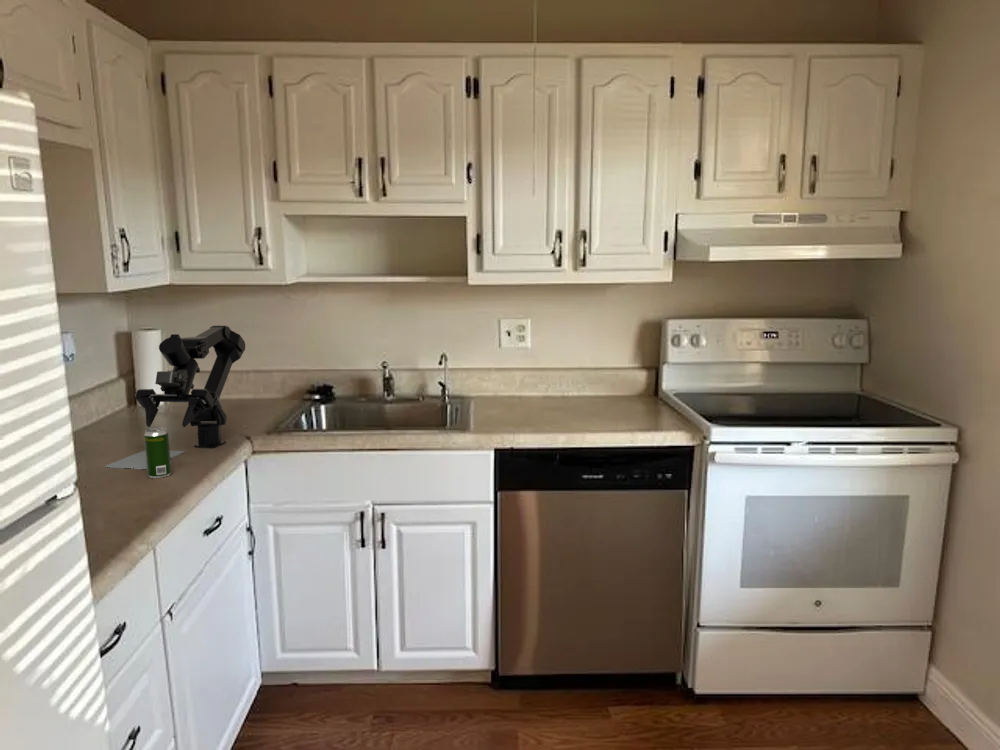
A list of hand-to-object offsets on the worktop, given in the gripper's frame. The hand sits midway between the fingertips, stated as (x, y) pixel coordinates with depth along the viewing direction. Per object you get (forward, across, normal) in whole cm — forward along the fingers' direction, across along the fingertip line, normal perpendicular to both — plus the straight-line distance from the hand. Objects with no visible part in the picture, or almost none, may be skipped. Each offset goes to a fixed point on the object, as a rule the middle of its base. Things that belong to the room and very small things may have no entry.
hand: (165, 426), depth 178 cm
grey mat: (+2, -11, +15) cm, 18 cm away
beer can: (+12, 0, +5) cm, 13 cm away
